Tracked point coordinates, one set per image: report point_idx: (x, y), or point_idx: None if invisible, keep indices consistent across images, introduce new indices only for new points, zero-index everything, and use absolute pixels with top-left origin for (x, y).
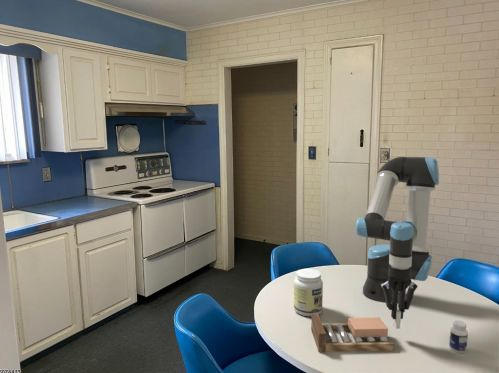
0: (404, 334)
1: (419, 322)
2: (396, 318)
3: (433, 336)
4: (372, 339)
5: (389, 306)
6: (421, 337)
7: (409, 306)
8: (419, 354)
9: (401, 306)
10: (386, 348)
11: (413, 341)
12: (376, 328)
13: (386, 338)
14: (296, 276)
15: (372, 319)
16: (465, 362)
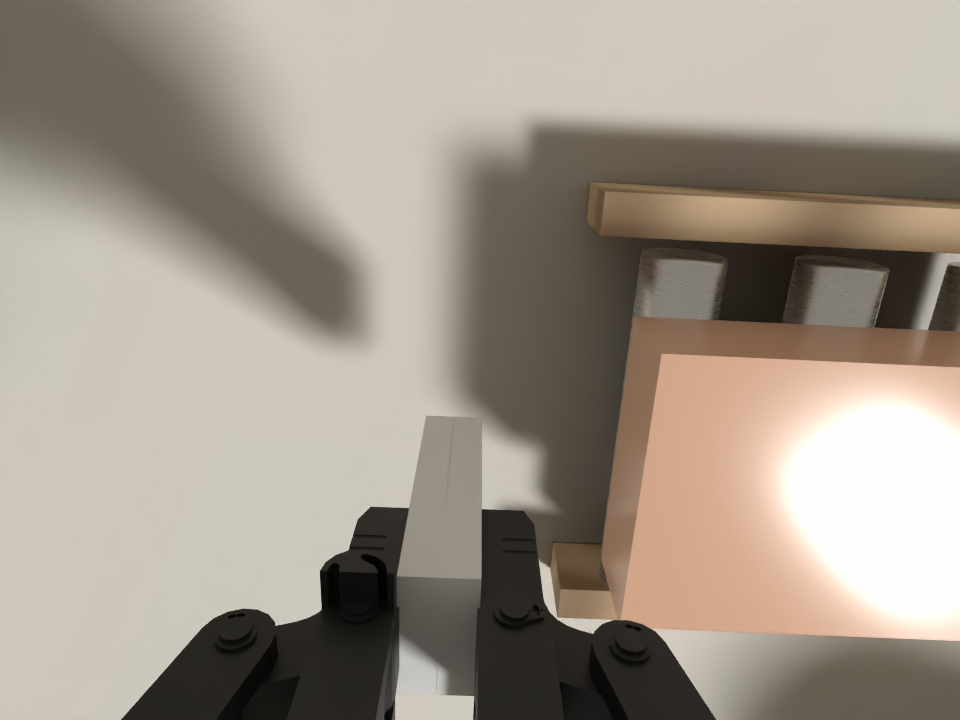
0: (331, 458)
1: (97, 632)
2: (481, 503)
3: (35, 401)
4: (857, 272)
5: (671, 692)
6: (172, 394)
7: (173, 665)
8: (323, 77)
9: (372, 675)
10: (677, 189)
11: (287, 331)
12: (832, 372)
13: (658, 287)
14: None
15: (748, 590)
16: None
